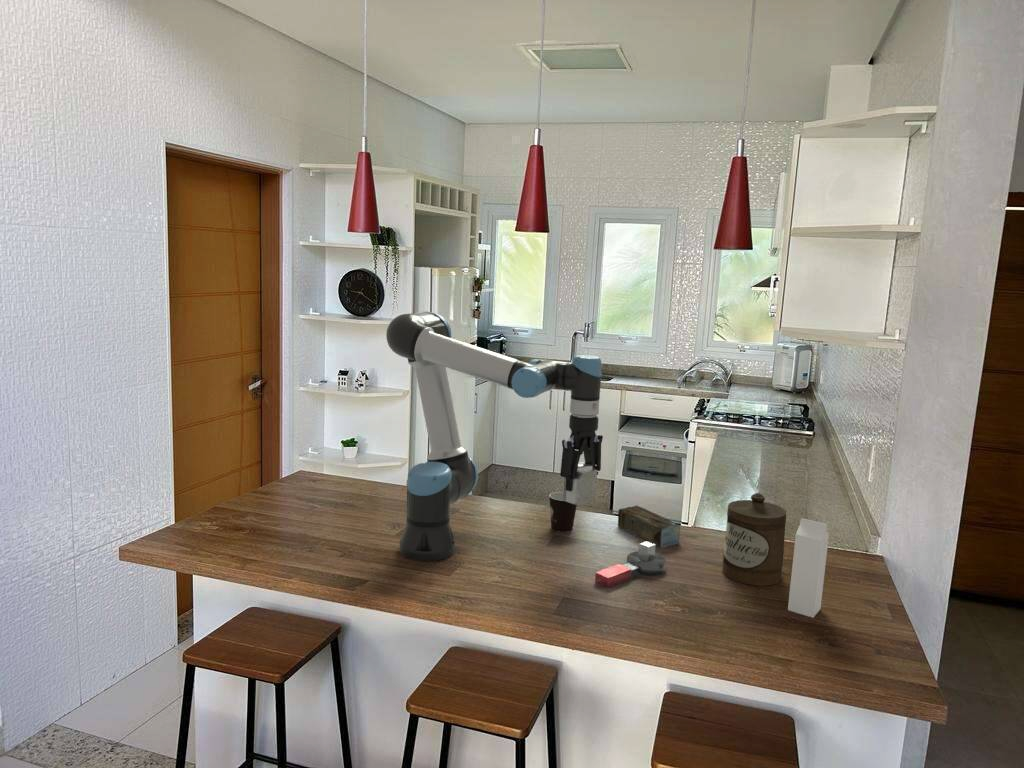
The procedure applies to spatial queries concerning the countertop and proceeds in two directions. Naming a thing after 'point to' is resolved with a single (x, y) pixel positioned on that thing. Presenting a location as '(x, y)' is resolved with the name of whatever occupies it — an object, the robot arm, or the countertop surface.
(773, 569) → the wooden container
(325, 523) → the countertop surface
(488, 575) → the countertop surface
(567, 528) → the coffee mug
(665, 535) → the beverage carton
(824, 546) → the milk
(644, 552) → the ratchet
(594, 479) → the grey faceted jar
